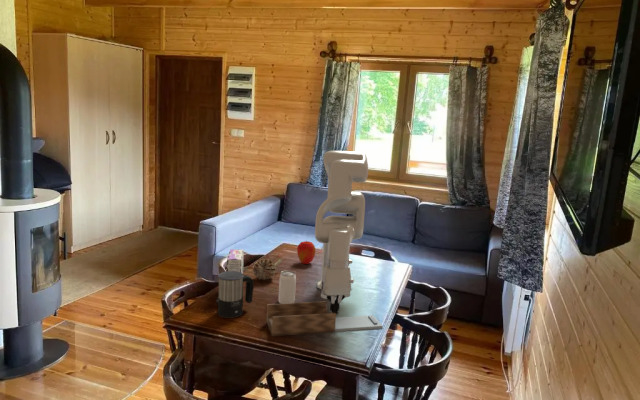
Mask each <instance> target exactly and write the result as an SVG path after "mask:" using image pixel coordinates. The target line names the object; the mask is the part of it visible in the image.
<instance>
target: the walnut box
mask: <svg viewBox="0 0 640 400" xmlns="http://www.w3.org/2000/svg"><path fill="white" fill-rule="evenodd" d="M266 305H267V306H266V325H267V328H268V329H269V332H270V334H271V336H272V337H280V336H281V337H283V336H297V335H298V336H299V335H309V334H325V333H335V332H336V331H335V322H336V317H337V314H336V313H332V312H328V301H327V300H325V301H307V302H294V303H284V304H280V303H272V304H266Z"/></svg>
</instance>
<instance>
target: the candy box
mask: <svg viewBox="0 0 640 400" xmlns="http://www.w3.org/2000/svg"><path fill="white" fill-rule="evenodd" d="M244 251H245V250H244V249H236V248H235V249H232V248H231V249H230V250H229V253H228V255H227V260H226V271H237V272H241V273H242V274H243V275H244V254H245V253H244Z"/></svg>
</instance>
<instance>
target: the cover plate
mask: <svg viewBox="0 0 640 400" xmlns="http://www.w3.org/2000/svg"><path fill="white" fill-rule="evenodd" d="M383 328H384V327H383V325H382V323H381V322H380V321H379V320H378V319H377V318H376V317H375V315H373V314H372V315H371V314H370V315H356V316H355V315H354V316H338V317H337V316H336V322H335V332H346V331H361V330H363V331H364V330H378V329H383Z"/></svg>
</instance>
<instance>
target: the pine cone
mask: <svg viewBox="0 0 640 400" xmlns="http://www.w3.org/2000/svg"><path fill="white" fill-rule="evenodd" d="M282 260H283V259H282V258H280V259H279V258H278V260H277V261H276V262H273V260H271V259H268V258H261V259H260V258H259V259H258V260H257V261H256V262H254V264H253V265H252V268H253V269H252V272H253V275H254V276H255V277H256V278H257V279H259V280H261V279H262V281H264V280H269V279H270V278H272V277H274V276H275V273H276V272H277V270H276V269H277V266H278V265H280V264H281V263H283V261H282Z"/></svg>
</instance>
